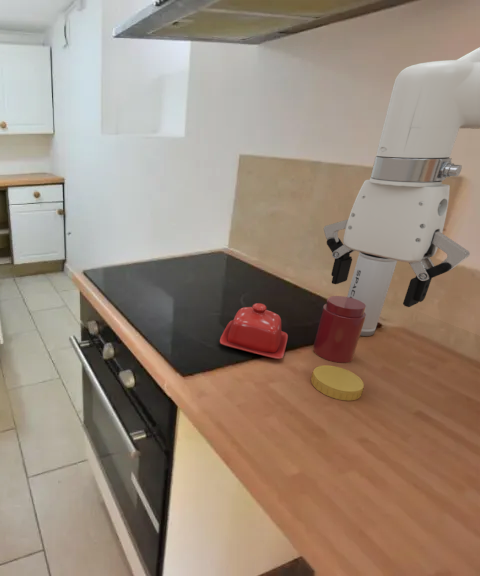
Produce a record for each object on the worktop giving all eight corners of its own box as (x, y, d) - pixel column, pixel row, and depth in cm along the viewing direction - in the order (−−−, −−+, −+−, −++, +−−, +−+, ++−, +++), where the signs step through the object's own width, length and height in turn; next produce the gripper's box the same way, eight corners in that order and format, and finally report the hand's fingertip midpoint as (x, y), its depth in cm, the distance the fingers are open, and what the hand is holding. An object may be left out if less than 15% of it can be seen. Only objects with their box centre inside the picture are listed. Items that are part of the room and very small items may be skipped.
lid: (345, 406, 58) (348, 397, 57) (301, 382, 63) (303, 373, 63) (370, 391, 61) (373, 382, 60) (326, 369, 67) (328, 360, 66)
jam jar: (325, 340, 76) (338, 292, 72) (360, 356, 71) (376, 305, 67) (305, 349, 73) (317, 299, 69) (340, 366, 68) (356, 313, 64)
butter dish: (281, 365, 68) (291, 323, 65) (216, 348, 73) (222, 309, 70) (287, 338, 77) (296, 299, 74) (229, 324, 82) (235, 288, 79)
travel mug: (373, 326, 82) (401, 235, 74) (374, 339, 76) (405, 243, 69) (339, 319, 85) (363, 231, 77) (338, 331, 79) (364, 238, 72)
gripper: (508, 175, 44) (457, 308, 51) (352, 165, 58) (328, 271, 64) (483, 180, 41) (432, 322, 47) (324, 168, 54) (301, 279, 61)
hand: (372, 292), depth 56 cm, fingers open, 9 cm apart
